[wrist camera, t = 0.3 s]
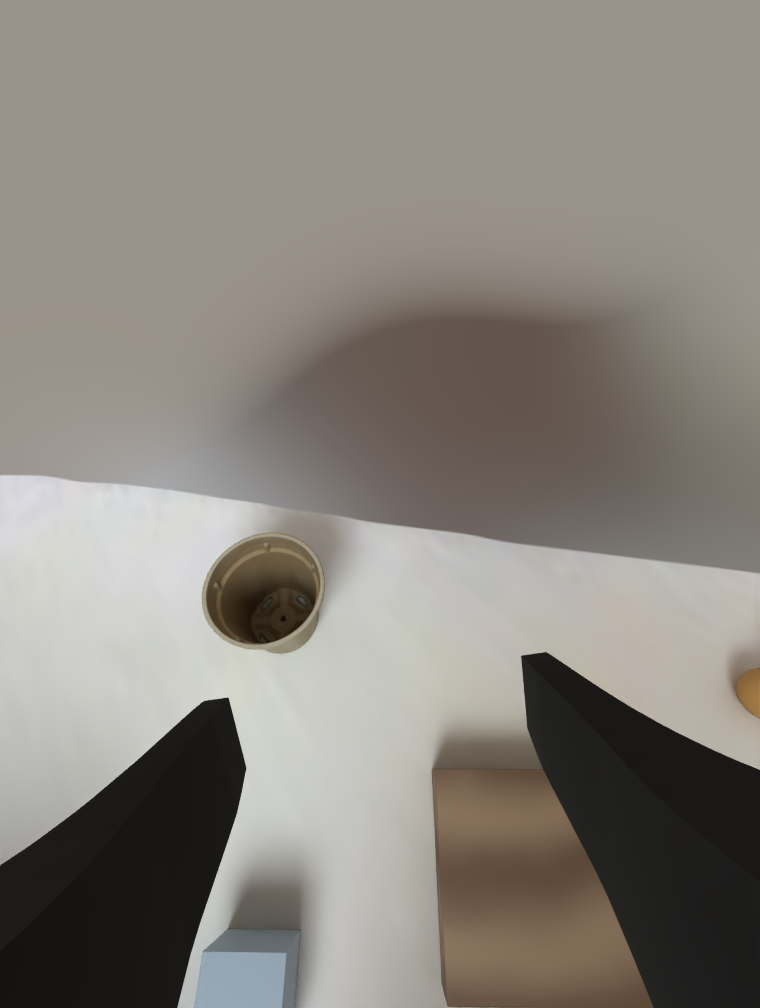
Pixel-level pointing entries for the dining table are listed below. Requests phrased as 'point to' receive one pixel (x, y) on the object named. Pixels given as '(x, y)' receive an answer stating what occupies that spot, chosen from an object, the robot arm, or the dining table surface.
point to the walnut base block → (522, 900)
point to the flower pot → (264, 593)
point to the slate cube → (249, 970)
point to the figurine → (750, 691)
